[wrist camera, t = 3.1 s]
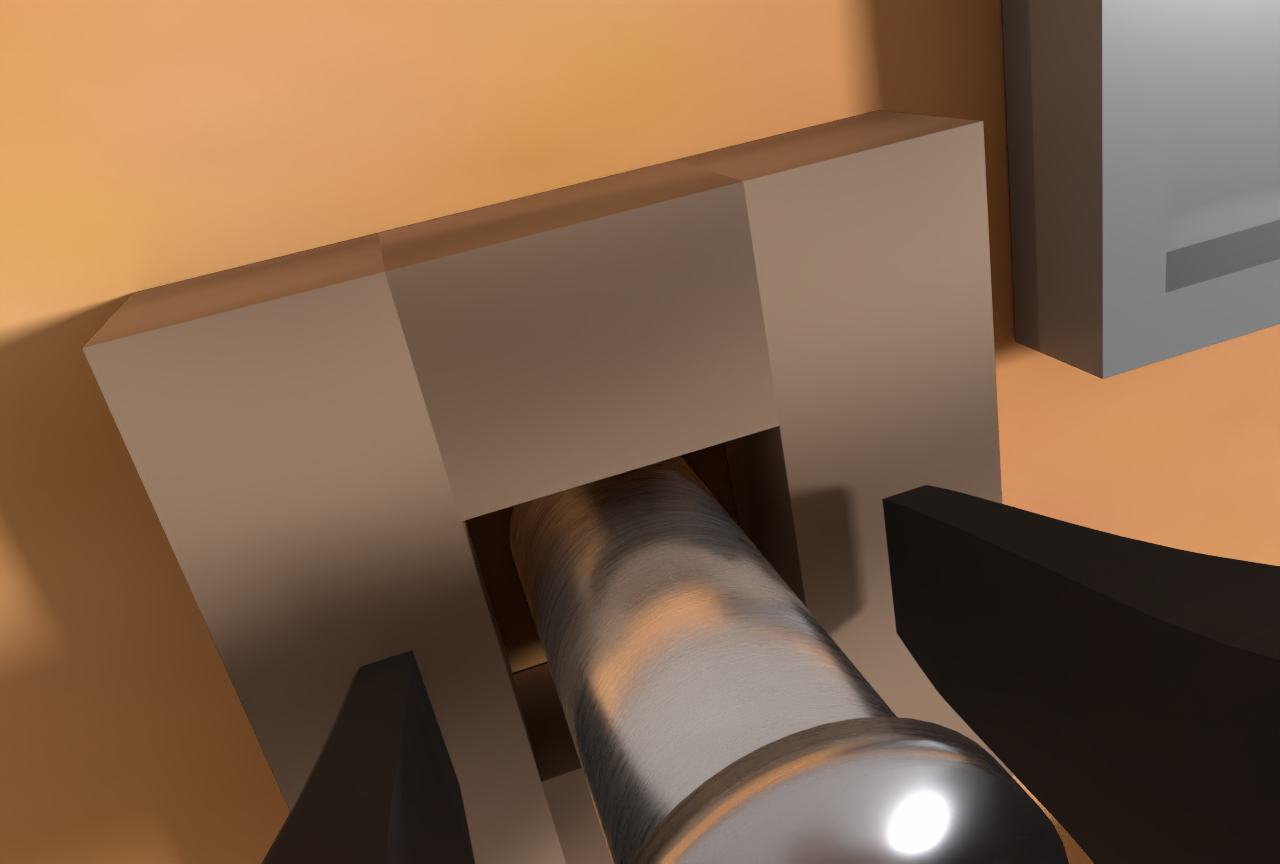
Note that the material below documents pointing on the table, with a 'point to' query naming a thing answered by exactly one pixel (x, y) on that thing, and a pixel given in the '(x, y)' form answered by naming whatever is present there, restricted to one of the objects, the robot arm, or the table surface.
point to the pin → (738, 699)
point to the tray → (1142, 175)
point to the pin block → (564, 424)
